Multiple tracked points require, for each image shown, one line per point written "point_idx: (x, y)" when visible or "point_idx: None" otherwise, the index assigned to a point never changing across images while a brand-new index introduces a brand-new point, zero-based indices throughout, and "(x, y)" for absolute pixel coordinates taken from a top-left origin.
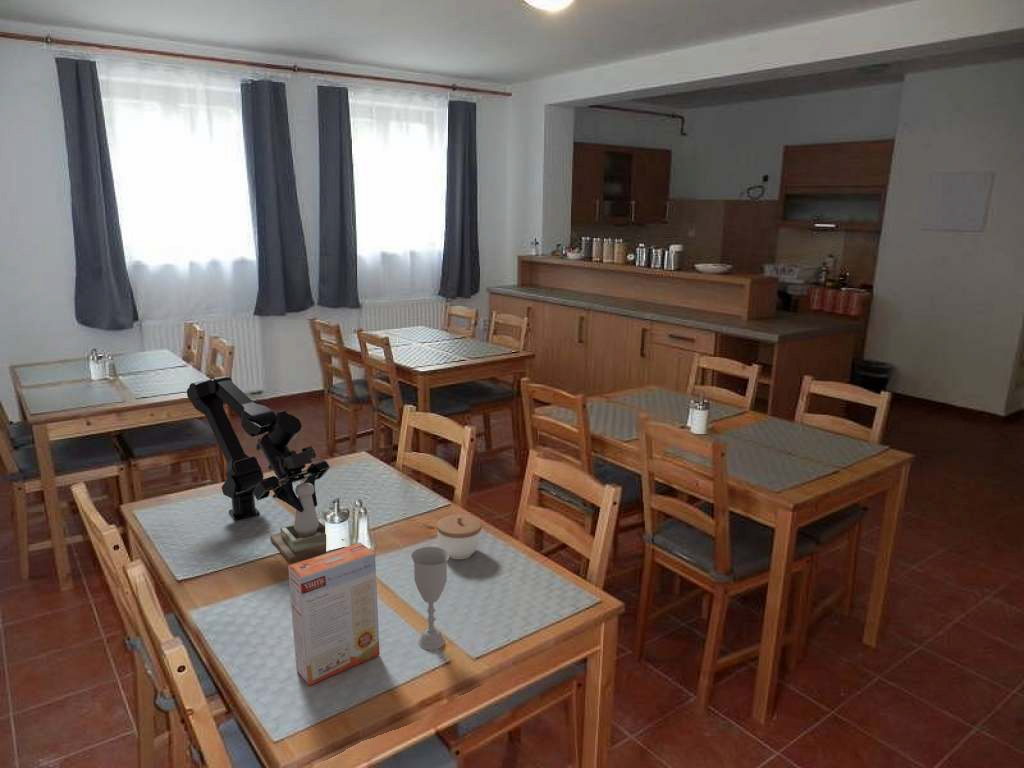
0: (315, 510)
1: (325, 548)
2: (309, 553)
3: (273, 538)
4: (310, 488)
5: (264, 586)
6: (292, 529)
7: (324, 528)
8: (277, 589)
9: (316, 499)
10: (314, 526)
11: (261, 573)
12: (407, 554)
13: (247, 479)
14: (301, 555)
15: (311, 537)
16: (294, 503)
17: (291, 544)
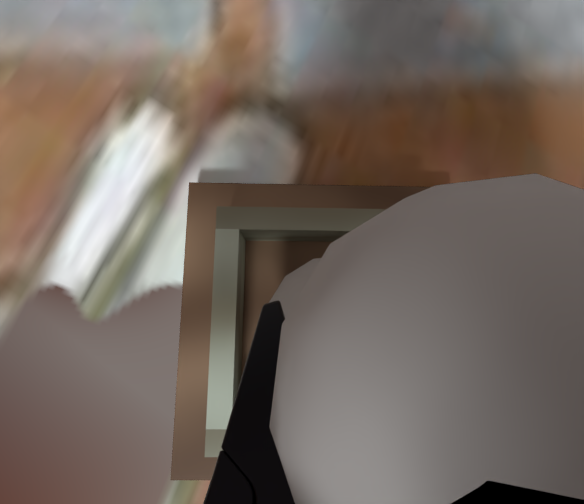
0: (283, 310)
1: (291, 184)
2: (365, 187)
3: None
4: (440, 189)
5: (567, 84)
6: None
7: (238, 305)
8: (531, 42)
9: (252, 343)
10: (313, 260)
11: (560, 177)
12: (32, 4)
13: None
14: (401, 187)
15: (348, 214)
16: None
17: None
